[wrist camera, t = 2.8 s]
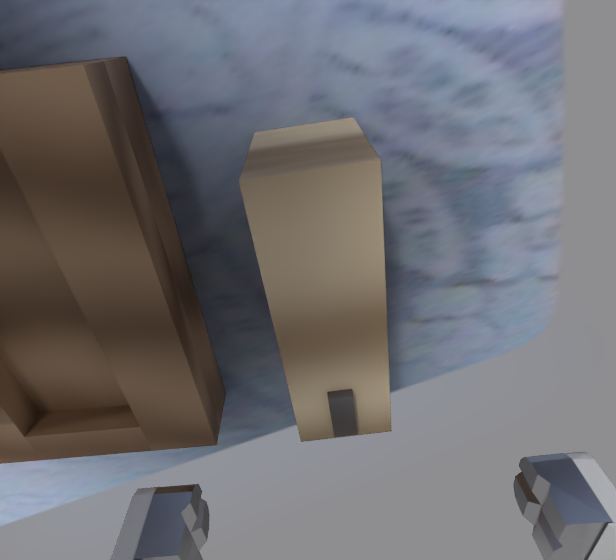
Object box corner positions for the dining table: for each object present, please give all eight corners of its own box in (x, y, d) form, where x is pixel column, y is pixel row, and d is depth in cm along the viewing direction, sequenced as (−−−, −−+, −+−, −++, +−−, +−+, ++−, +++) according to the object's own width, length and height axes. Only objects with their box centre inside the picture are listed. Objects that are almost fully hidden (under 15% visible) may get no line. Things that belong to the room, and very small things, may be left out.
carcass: (-222, 93, 15) (-399, 117, 11) (125, 56, 14) (67, 68, 11) (16, 412, 25) (-35, 483, 21) (225, 393, 24) (213, 462, 20)
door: (255, 131, 16) (237, 185, 11) (353, 116, 16) (383, 164, 11) (299, 348, 23) (301, 449, 17) (369, 339, 23) (393, 439, 17)
